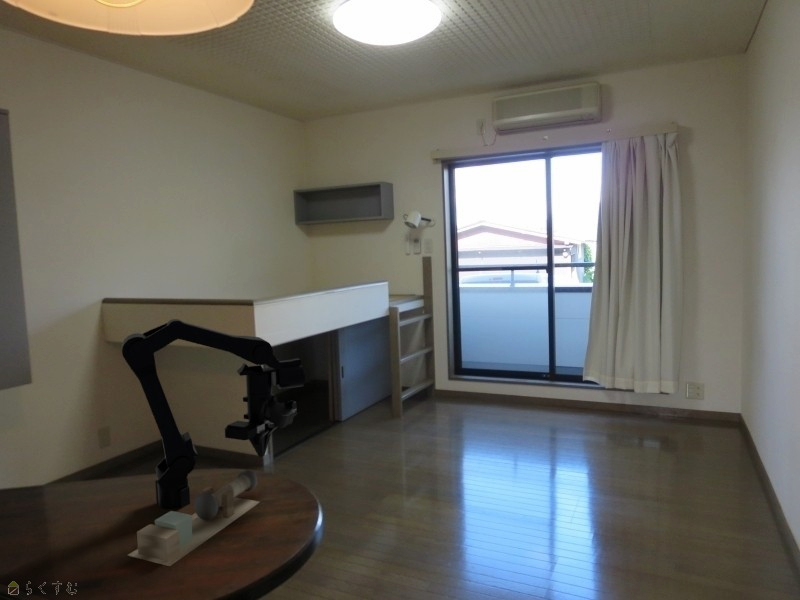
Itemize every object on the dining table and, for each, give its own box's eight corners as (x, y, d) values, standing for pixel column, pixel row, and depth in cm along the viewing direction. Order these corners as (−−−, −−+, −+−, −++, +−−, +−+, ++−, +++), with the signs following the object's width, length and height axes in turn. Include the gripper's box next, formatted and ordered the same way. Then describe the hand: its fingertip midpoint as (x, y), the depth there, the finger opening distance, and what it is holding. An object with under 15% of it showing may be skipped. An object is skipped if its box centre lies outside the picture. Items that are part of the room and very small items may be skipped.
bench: (127, 559, 98) (125, 528, 98) (223, 498, 122) (222, 473, 122) (170, 570, 95) (168, 538, 94) (260, 505, 119) (259, 479, 118)
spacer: (156, 545, 101) (154, 520, 101) (172, 535, 105) (171, 510, 104) (176, 551, 99) (175, 525, 99) (192, 540, 103) (191, 515, 103)
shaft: (194, 517, 110) (193, 493, 110) (240, 488, 124) (239, 466, 124) (214, 522, 109) (213, 497, 108) (259, 491, 122) (258, 469, 122)
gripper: (264, 405, 114) (266, 476, 115) (310, 385, 131) (311, 447, 133) (221, 400, 118) (224, 469, 120) (271, 381, 136) (273, 442, 137)
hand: (261, 456), depth 127 cm, fingers closed
